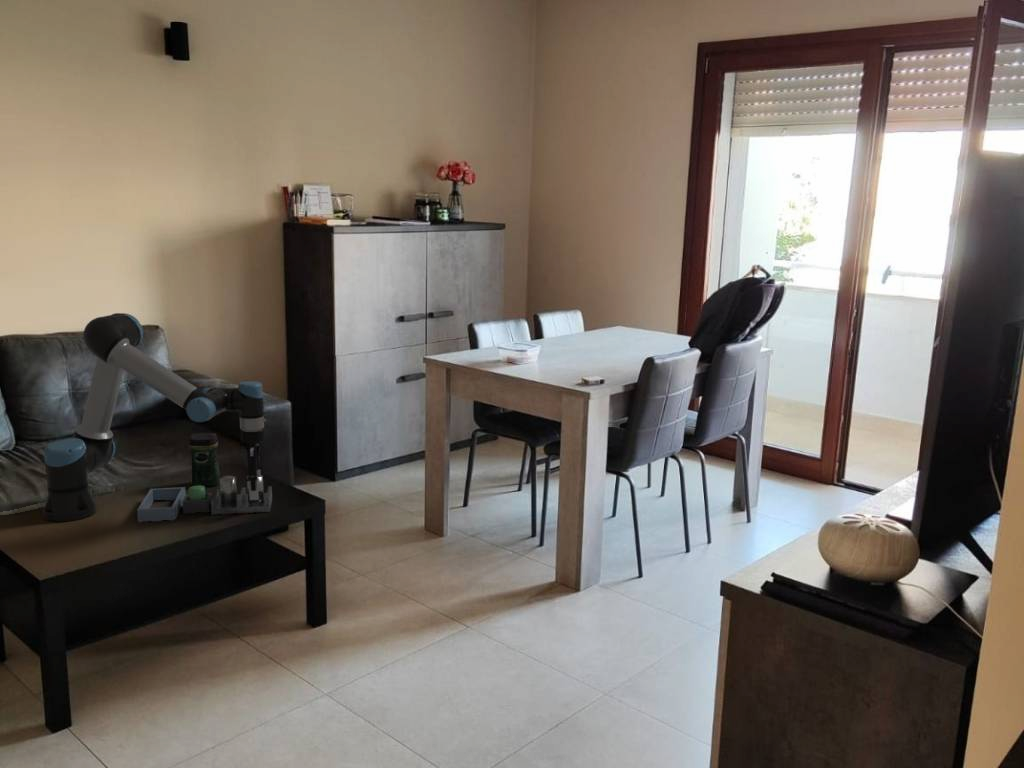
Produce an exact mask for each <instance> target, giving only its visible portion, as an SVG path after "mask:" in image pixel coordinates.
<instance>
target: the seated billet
mask: <svg viewBox="0 0 1024 768" xmlns="http://www.w3.org/2000/svg"><path fill="white" fill-rule="evenodd" d="M219 495H221V503H223V504H231V503H235V502H237V495H238V494H237V477H236V476H235V475H224V476H220V482H219Z"/></svg>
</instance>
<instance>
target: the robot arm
mask: <svg viewBox="0 0 1024 768" xmlns="http://www.w3.org/2000/svg"><path fill="white" fill-rule="evenodd" d="M82 335H83V342H84V345H85V347H86V348H87V349H88V350H89V351H90V353H92V354H93V355H94V356H95V357H96V360H95V365H94V368H93V369H94V370H93V372H92V378H91V382H90V386H89V387H90V388H89V392H88V395H87V400H86V403H85V404H86V405H85V409H84V412H83V417H82V420H81V424H80V425H78V426H76V427H75V428H74V432H73V436H72V437H71V438H70V437H68V438H63V439H60V440H55V441H52V442H51V443H49V444H48V445H47V446H46V447H45V449H44V456H43V461H44V466H45V476H46V486H47V496H46V499H45V504H44V506H43V511H42V512H43V518H44V519H45V520H47V521H49V522H50V521H51V522H72V521H77V520H81V519H85V518H88V517H90V516H92V515H94V514H96V513H97V503H96V501H95V498H94V497H93V494H92V492H91V490H90V488H89V477H88V475H89V474H90V473H92V472H95V471H96V470H98V469H101V468H102V467H105V466H106V465H108V463H109V462H110V461H111V460H112V459H113V458H114V456H115V453H116V444H115V442H114V433H113V431H112V430H111V424H112V421H113V417H114V414H115V413H114V412H115V408H116V405H117V400H118V395H119V392H120V388H121V383H122V379H123V376H124V375H123V374H124V371H125V372H127V373H128V374H130V375H131V376H133V377H134V378H136V379H137V380H139V381H140V382H141V383H144V384H145V385H146V386H147V387H150V388H151V389H152V390H154V391H156V392H157V393H158V394H161V395H162V396H164V397H166V398H167V399H168V400H170V401H171V402H173V403H174V404H176V405H178V406H179V407H180V408H182V409H184V410H185V411H186V414H187V416H188V418H189V419H190V420H191V421H193V422H196V423H203V422H207V421H210V420H211V419H212V418H214V417H215V416H218V415H219V414H221V413H223V412H239V429H240V441H241V443H244V444H248V445H247V447H246V453H247V455H246V456H247V469H248V470H247V471H248V473H247V474H248V475H247V476H248V479H247V478H246V482H247V481H249V495H250V500H258V499H259V497H258V480H257V474H259V475H261V470H263V465H261V459H260V456H261V452H260V451H261V445H260V443H262V442H264V441H265V439H266V434H265V433H266V432H265V422H266V421H267V419H266V418H264V417H265V414H264V411H265V410H264V392H263V391H264V390H263V385H262V383H261V382H259V381H256V380H253V381H252V380H249V381H248V380H247V381H241V382H239V383H238V386H237V387H216V386H213V387H205V388H203V389H202V390H201V389H199V388H198V387H197V386H195V385H194V384H192V383H190V381H189V382H188V380H186V379H184V378H183V377H181V376H180V375H178V374H176V373H175V372H173V371H172V370H171V369H169V368H168V367H166V366H165V365H163V364H161V363H159V362H158V361H156V360H155V359H153V358H152V357H150V356H149V355H147V354H146V353H144V352H143V351H141V350H140V349H138V348H137V346H138V345H139V344H140V343H141V342H142V341H143V338H144V329H143V326H142V324H141V323H140V321H139V320H138V319H137V318H136V317H135V316H134V315H132V314H129V313H125V312H124V313H123V312H122V313H121V312H116V313H112V314H108V315H104V316H98V317H95V318H93V319H92V320H90V321H89V322H87V324H86V326H85V327H84V329H83V334H82ZM251 476H254V477H251Z"/></svg>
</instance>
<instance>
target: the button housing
mask: <svg viewBox="0 0 1024 768" xmlns="http://www.w3.org/2000/svg"><path fill="white" fill-rule="evenodd" d="M205 497H206V500H189V493H186V496H185V498H184V500H183V505H182V514H183V513H186V514H194V513H193V512H204V513H210V512H211V499H212V497H213V493H212V492H205Z"/></svg>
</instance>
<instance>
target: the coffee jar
mask: <svg viewBox="0 0 1024 768" xmlns="http://www.w3.org/2000/svg"><path fill="white" fill-rule="evenodd" d="M218 441H219V440H218V435H217V433H215V432H212V433H210V432H209V433H208V432H203V433H199V432H198V433H193V434H191V435H190V436H189V439H188V448H189V451H190V455H191V472H190V473H191V475H190V476H191V477H190V480H191V481H190V482H191V485H192V486H205V487H212V486H215V485H220V478H221V474H220V468H219V462H218V455H217V453H218V452H217V450H218V446H219V442H218Z"/></svg>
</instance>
